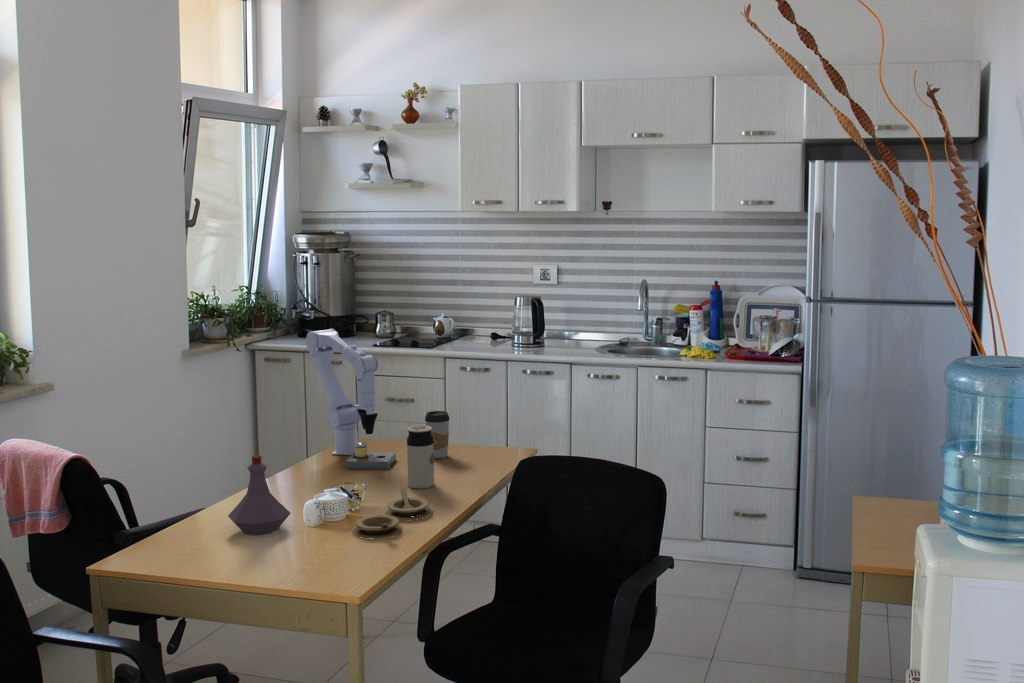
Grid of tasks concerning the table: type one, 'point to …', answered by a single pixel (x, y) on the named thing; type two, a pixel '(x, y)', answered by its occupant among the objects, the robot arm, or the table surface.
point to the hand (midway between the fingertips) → (367, 431)
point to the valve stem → (361, 450)
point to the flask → (258, 505)
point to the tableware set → (392, 517)
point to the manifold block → (371, 461)
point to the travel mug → (420, 457)
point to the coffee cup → (439, 431)
